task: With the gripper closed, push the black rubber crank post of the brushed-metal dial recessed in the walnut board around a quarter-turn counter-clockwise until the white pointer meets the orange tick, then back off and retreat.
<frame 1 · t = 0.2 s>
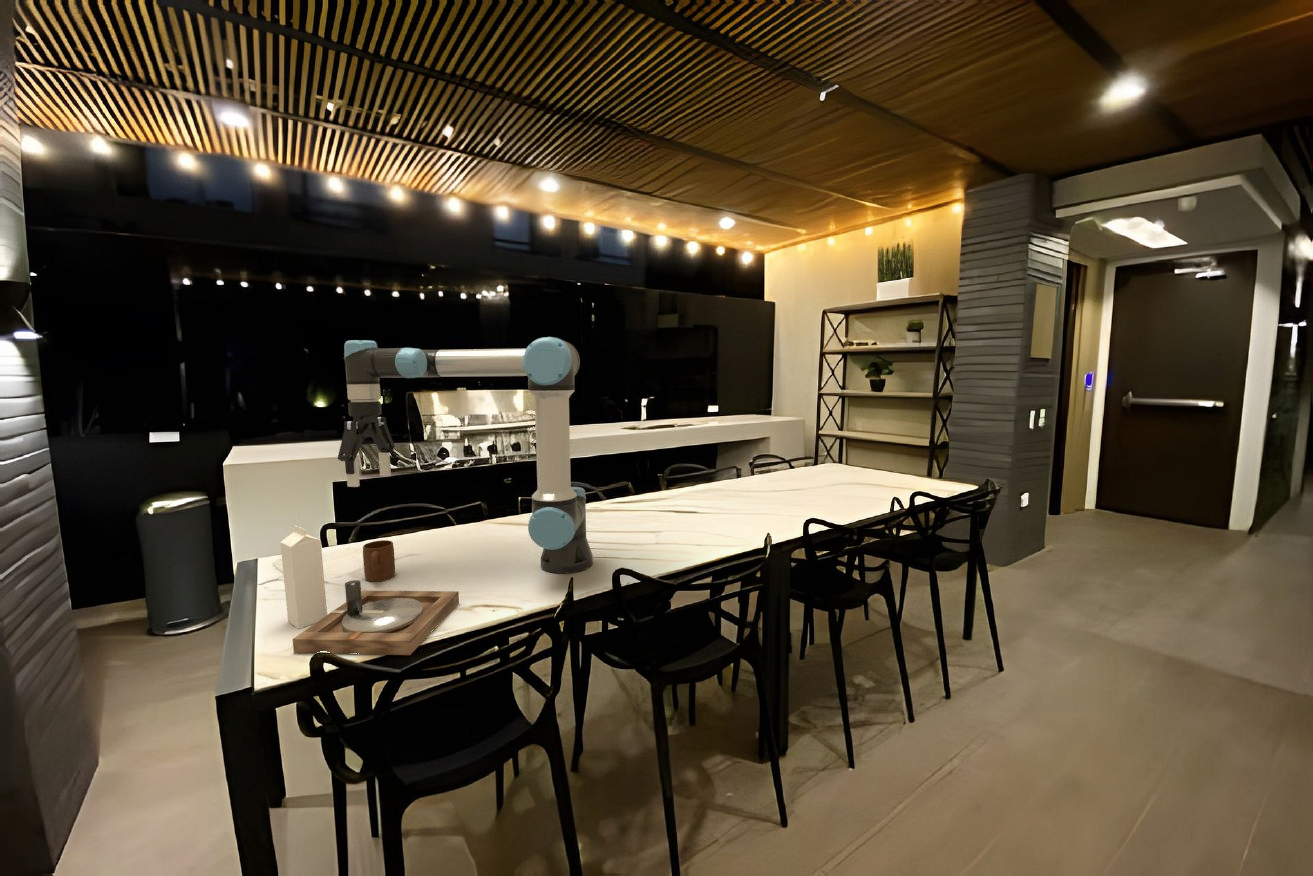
hand: (370, 481, 141), 28 cm above the table, fingers open, 13 cm apart
board: (384, 625, 119), on the table
mug: (379, 580, 145), on the table
dial: (382, 600, 118), point 6 cm above the table, hinge at 0.0°
milk: (308, 621, 122), on the table
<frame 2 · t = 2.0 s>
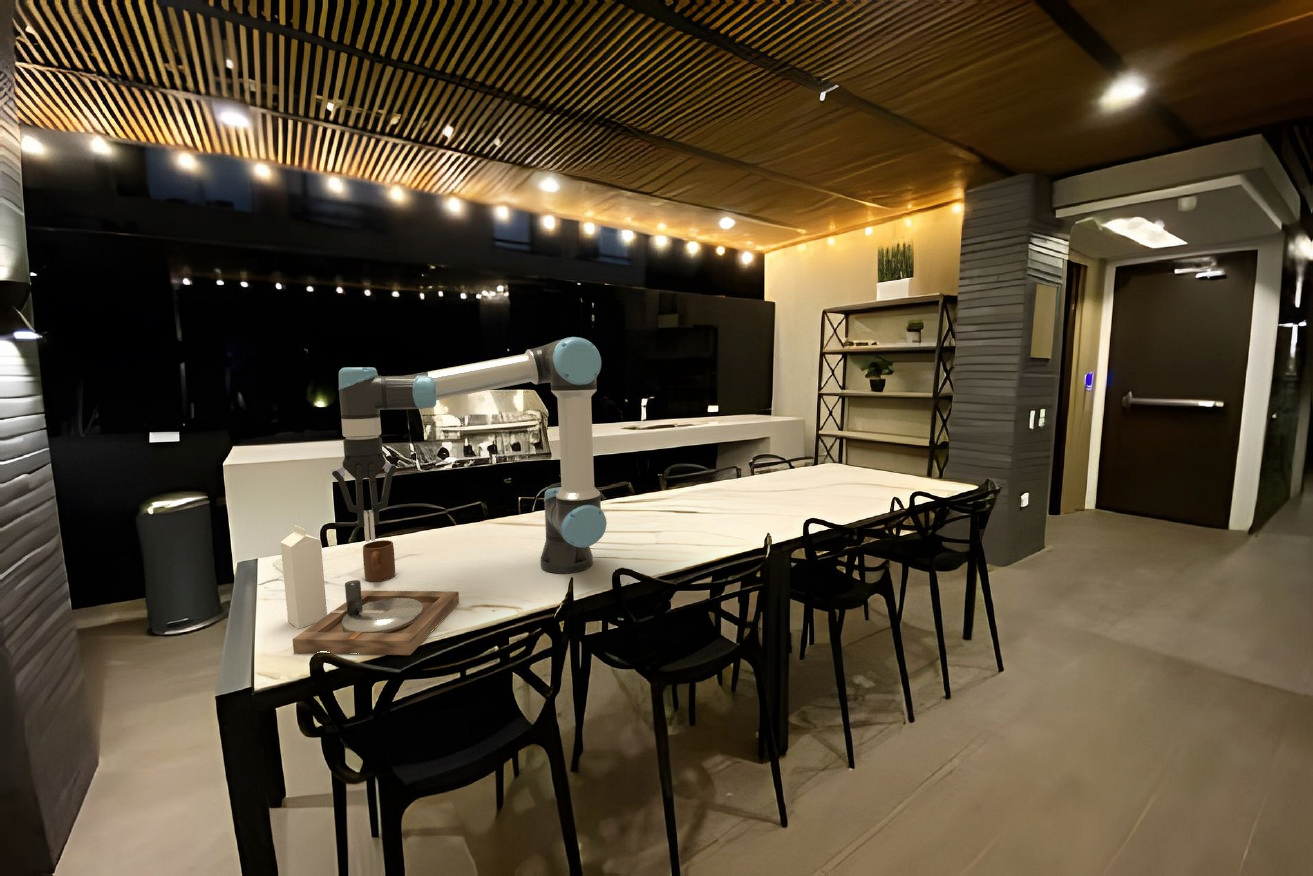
hand: (370, 539, 121), 18 cm above the table, fingers closed
nothing on the table moved.
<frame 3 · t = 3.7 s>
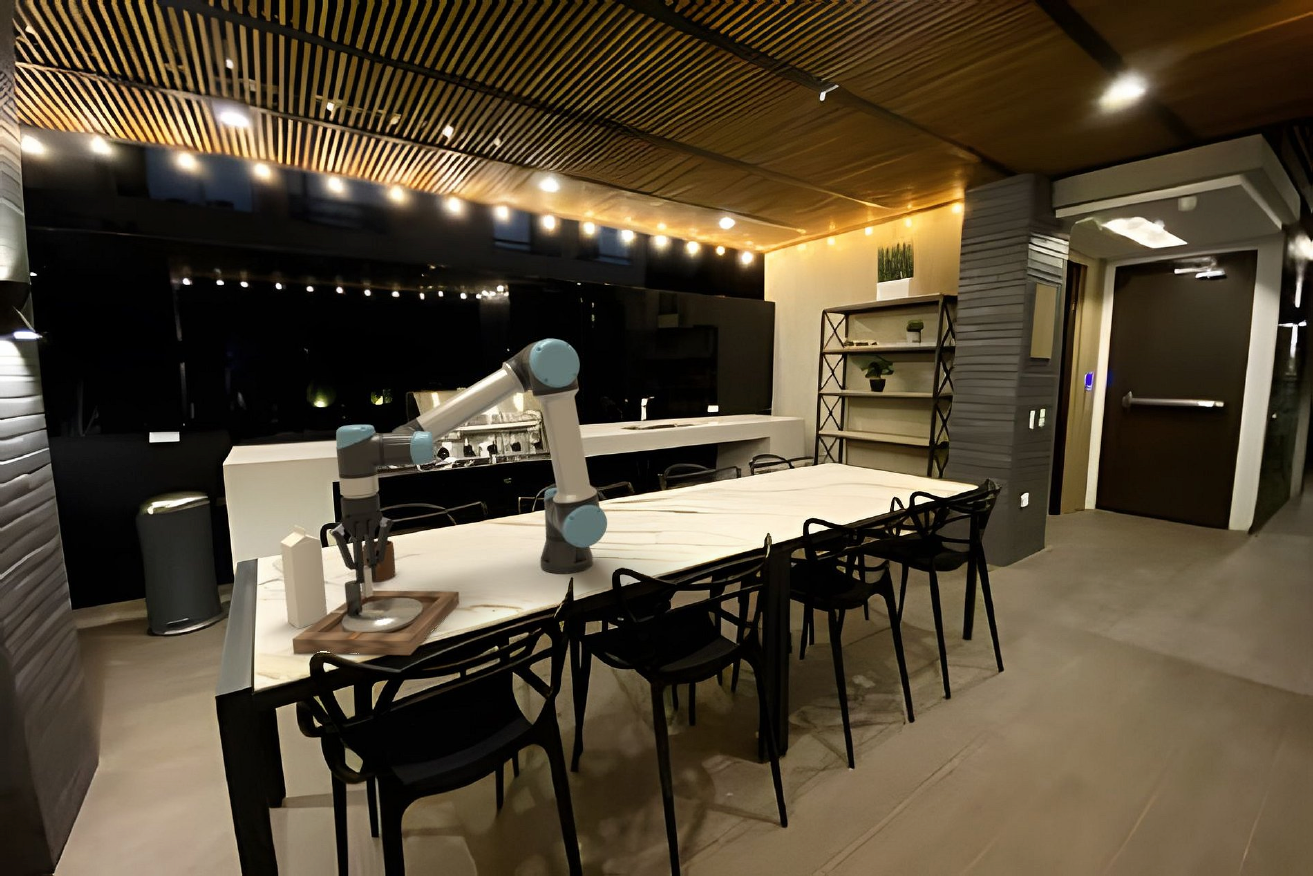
hand: (367, 595, 122), 6 cm above the table, fingers closed
dial: (382, 600, 118), point 6 cm above the table, hinge at 0.6°, touching gripper
everything else where it was.
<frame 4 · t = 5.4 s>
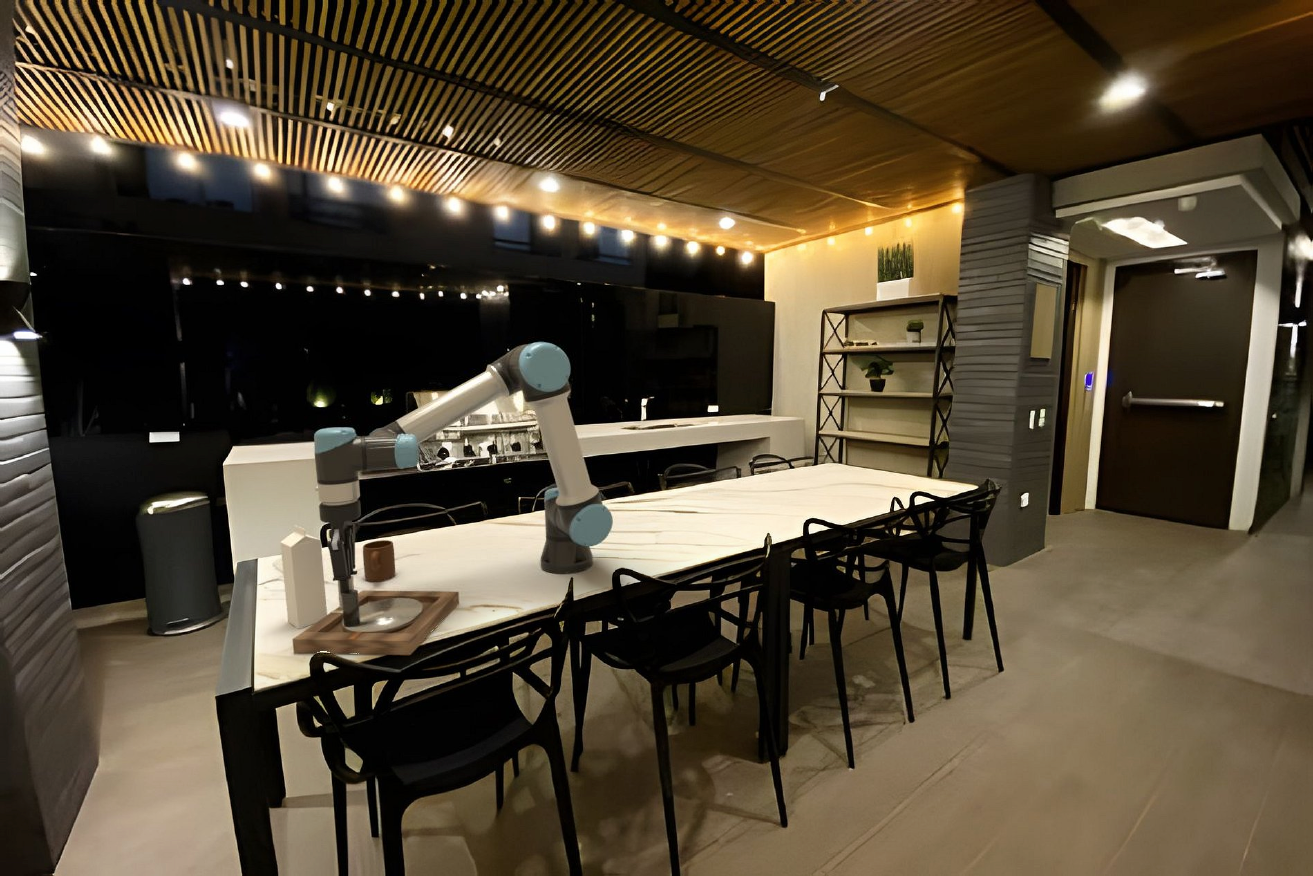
hand: (347, 606, 116), 6 cm above the table, fingers closed
dial: (382, 600, 118), point 6 cm above the table, hinge at 52.9°, touching gripper
everything else where it was.
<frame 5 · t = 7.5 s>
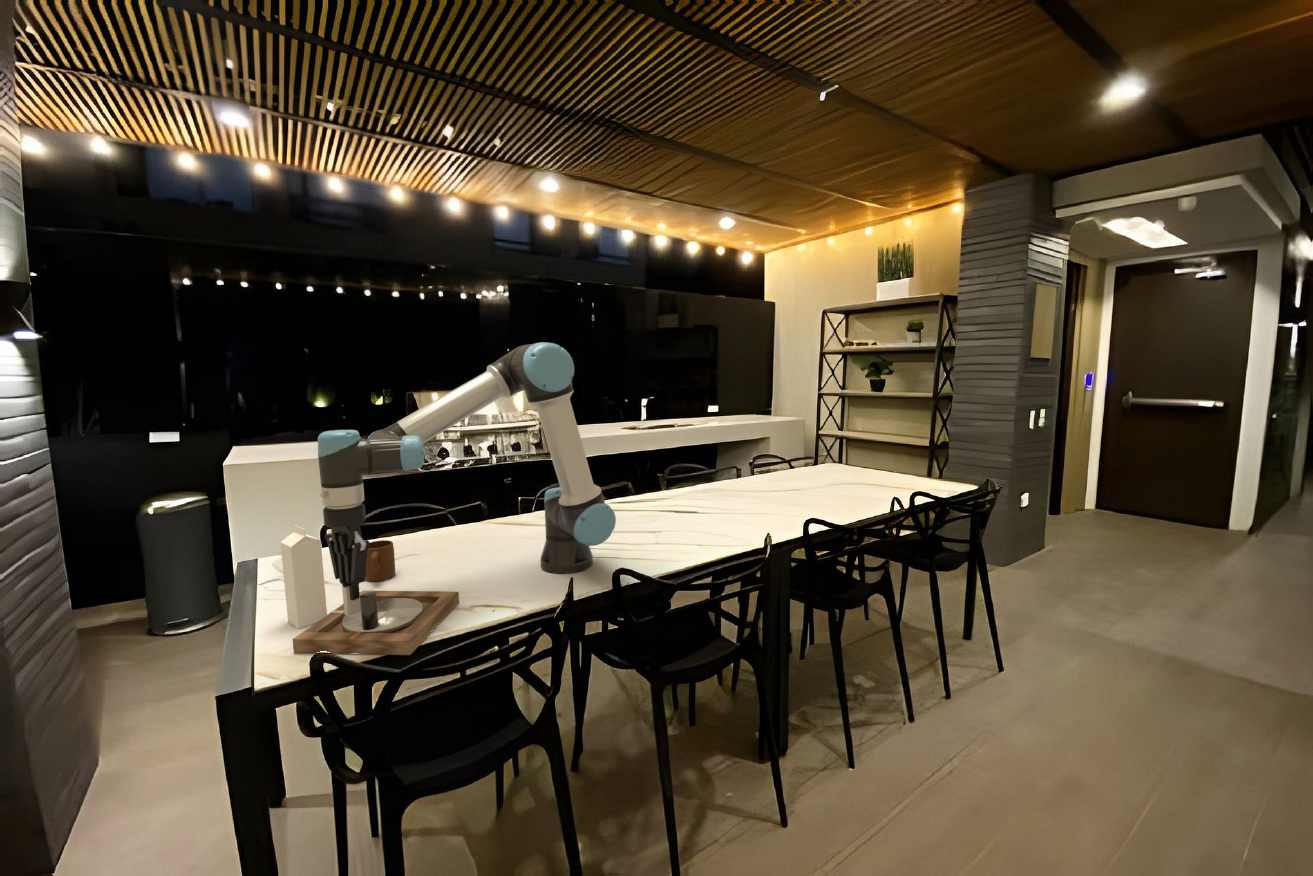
hand: (352, 612, 113), 5 cm above the table, fingers closed
dial: (382, 600, 118), point 6 cm above the table, hinge at 97.3°
everything else where it was.
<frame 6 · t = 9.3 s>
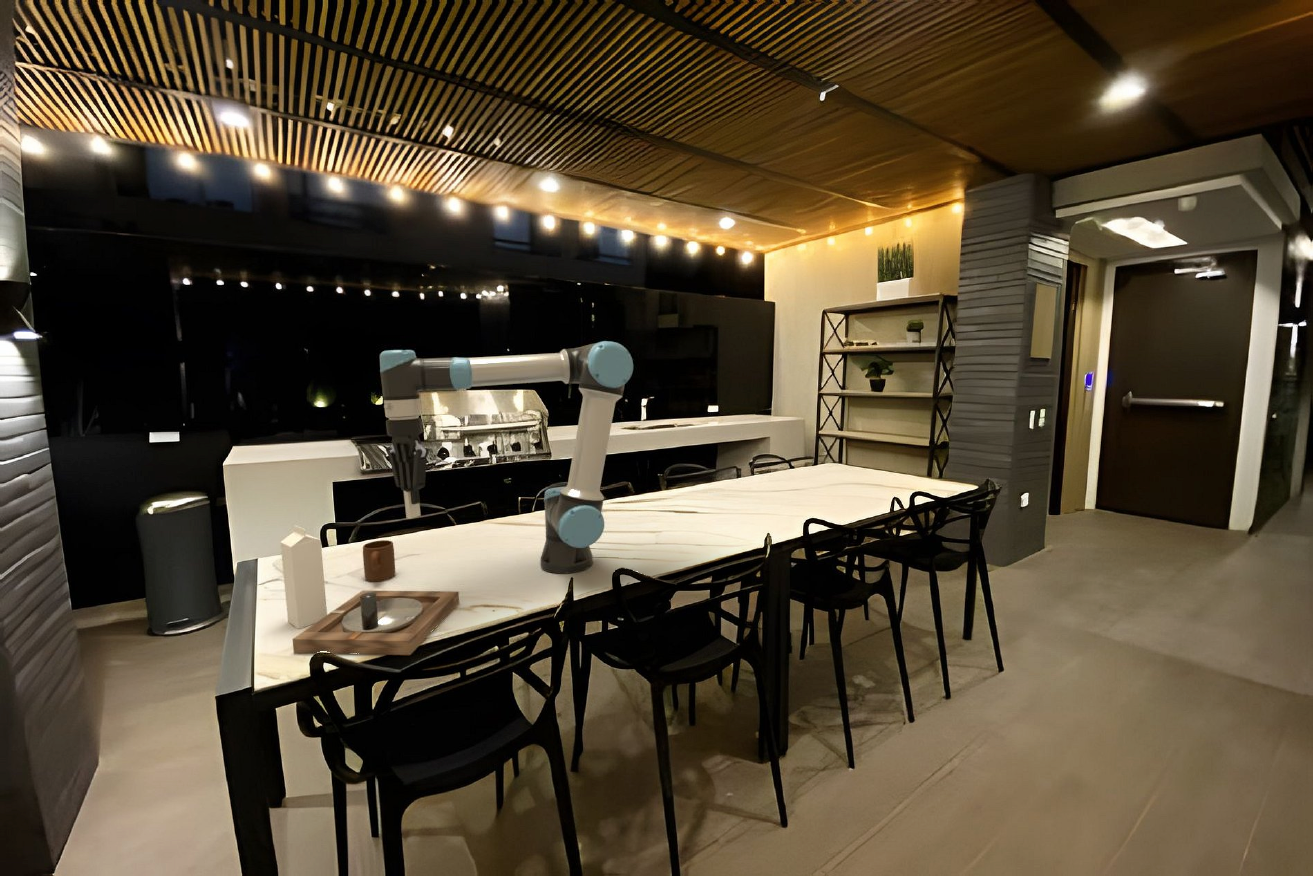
hand: (413, 516, 126), 22 cm above the table, fingers closed
nothing on the table moved.
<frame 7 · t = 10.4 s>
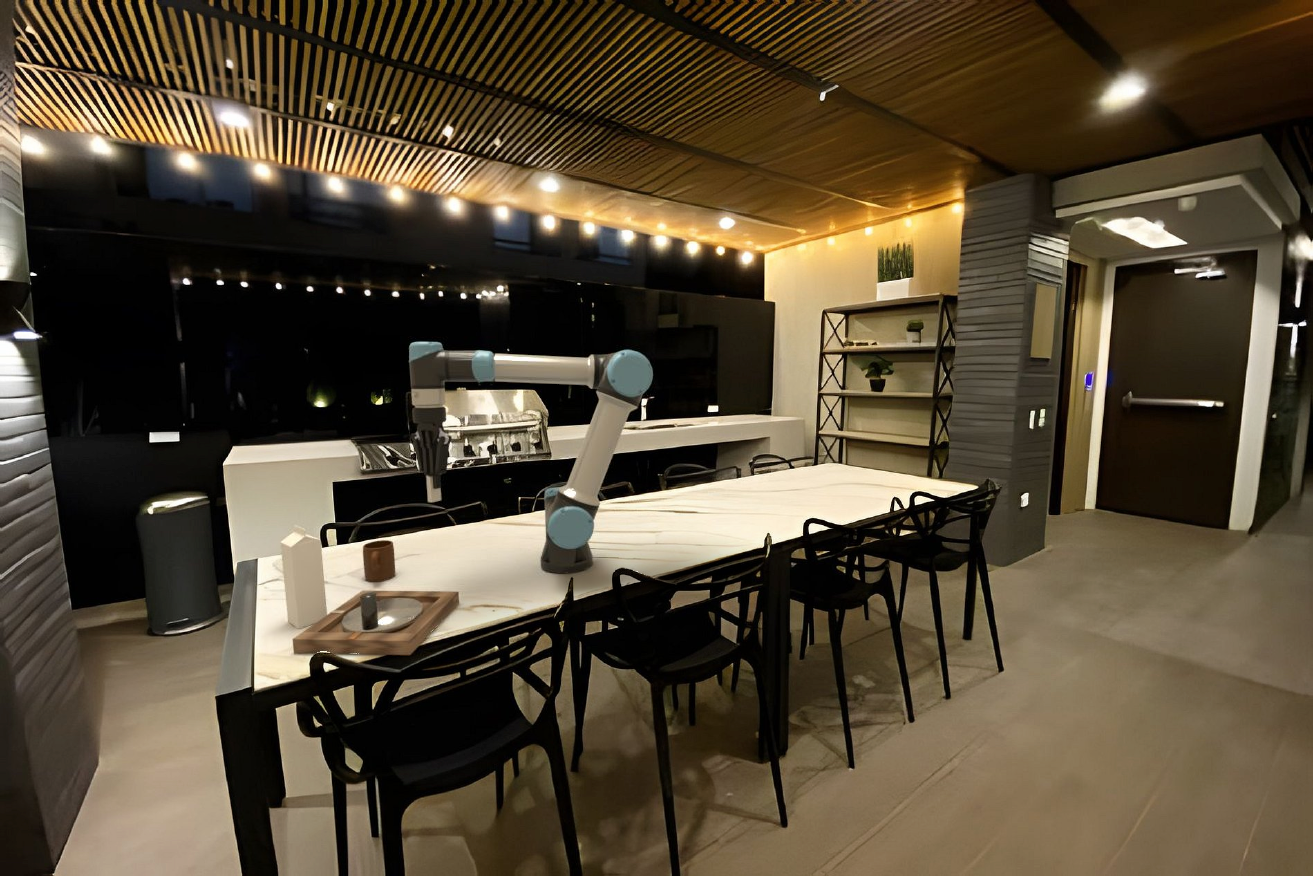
hand: (434, 500, 132), 24 cm above the table, fingers closed
nothing on the table moved.
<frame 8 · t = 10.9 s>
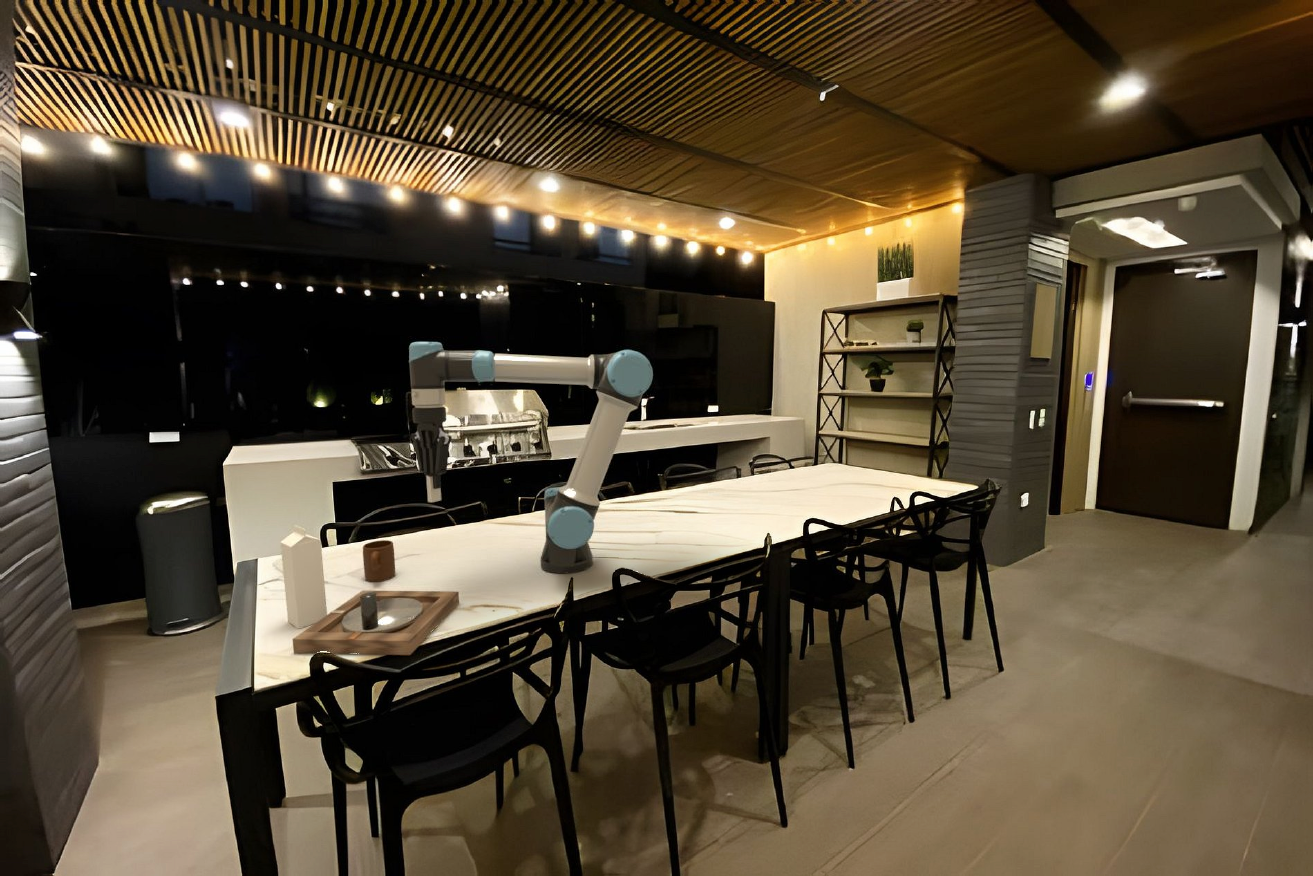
hand: (434, 500, 132), 24 cm above the table, fingers closed
nothing on the table moved.
at the end: dial at +97° (first picture: +0°); the gripper is holding nothing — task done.
